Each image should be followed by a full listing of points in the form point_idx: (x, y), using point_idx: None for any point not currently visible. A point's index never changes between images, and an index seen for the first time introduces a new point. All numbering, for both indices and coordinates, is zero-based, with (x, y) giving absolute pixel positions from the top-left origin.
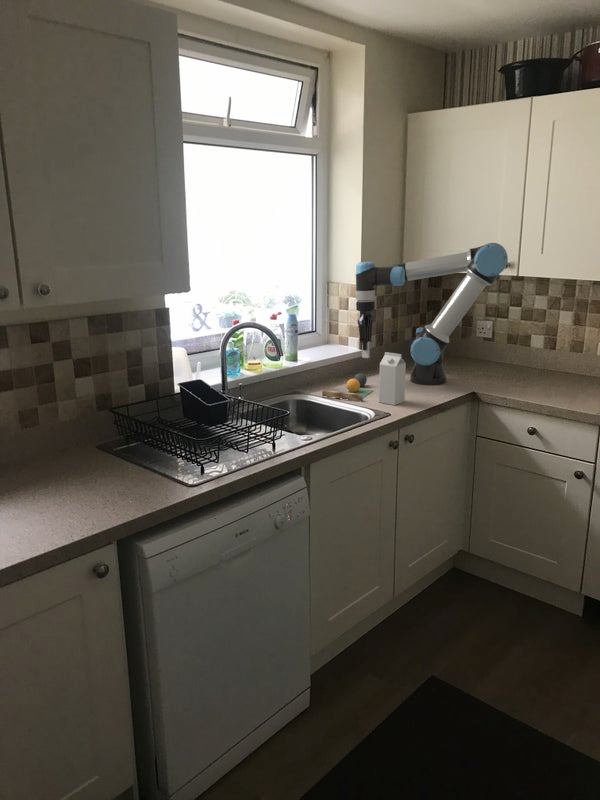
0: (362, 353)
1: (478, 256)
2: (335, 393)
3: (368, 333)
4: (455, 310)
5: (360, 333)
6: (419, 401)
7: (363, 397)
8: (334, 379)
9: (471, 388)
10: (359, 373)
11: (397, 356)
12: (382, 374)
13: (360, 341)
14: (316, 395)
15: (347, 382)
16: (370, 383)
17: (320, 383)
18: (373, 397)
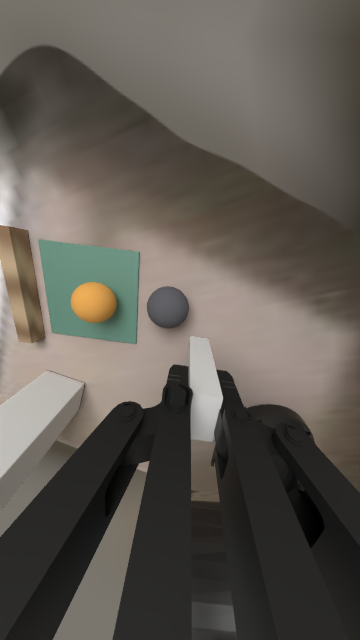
0: (189, 347)
1: None
2: (5, 271)
3: (227, 559)
4: None
5: (14, 540)
6: (93, 429)
7: (66, 334)
8: (244, 192)
9: (215, 490)
10: (167, 310)
11: None
12: None
13: (123, 404)
14: (22, 201)
15: (77, 288)
16: (212, 322)
17: (171, 155)
18: (80, 353)
